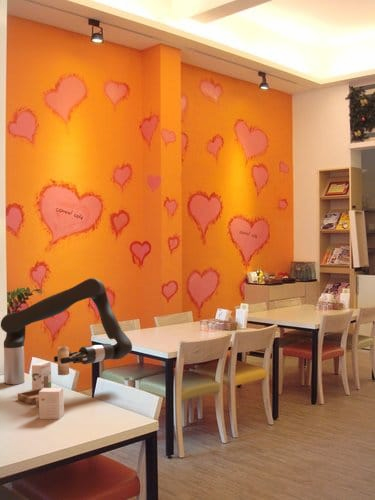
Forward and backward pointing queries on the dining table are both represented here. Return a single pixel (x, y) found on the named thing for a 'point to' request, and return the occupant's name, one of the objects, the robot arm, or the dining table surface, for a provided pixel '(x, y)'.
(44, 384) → the stand
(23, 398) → the tray
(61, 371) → the tan hollow cylinder
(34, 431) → the dining table surface
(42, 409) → the small box
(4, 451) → the dining table surface
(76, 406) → the dining table surface
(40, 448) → the dining table surface
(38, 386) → the ink box
